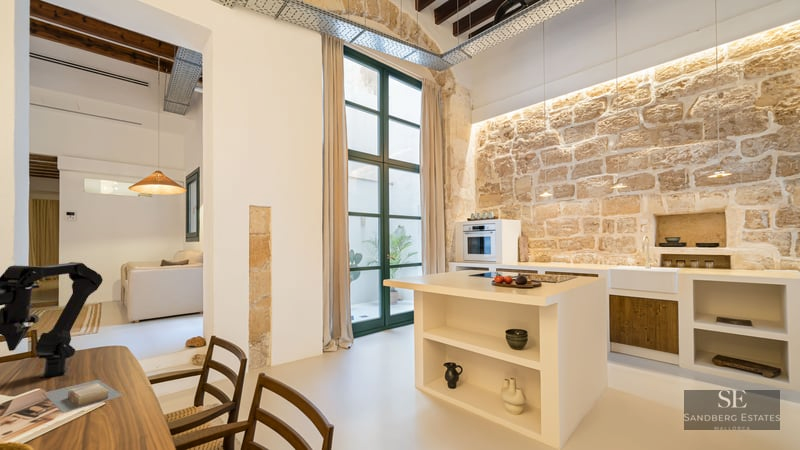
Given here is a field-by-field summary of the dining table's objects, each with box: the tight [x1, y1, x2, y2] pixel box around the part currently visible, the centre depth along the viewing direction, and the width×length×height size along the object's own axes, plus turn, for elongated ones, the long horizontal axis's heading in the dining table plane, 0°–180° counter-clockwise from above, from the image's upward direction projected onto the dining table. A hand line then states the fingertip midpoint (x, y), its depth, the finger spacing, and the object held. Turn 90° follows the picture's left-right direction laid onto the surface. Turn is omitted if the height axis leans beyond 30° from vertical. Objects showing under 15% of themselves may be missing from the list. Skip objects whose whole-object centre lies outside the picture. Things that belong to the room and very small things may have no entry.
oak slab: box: [68, 383, 109, 407], centre depth 104 cm, size 3×7×10 cm
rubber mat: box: [45, 379, 124, 414], centre depth 106 cm, size 22×14×1 cm, turn 58°
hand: (11, 350), depth 109 cm, fingers closed
